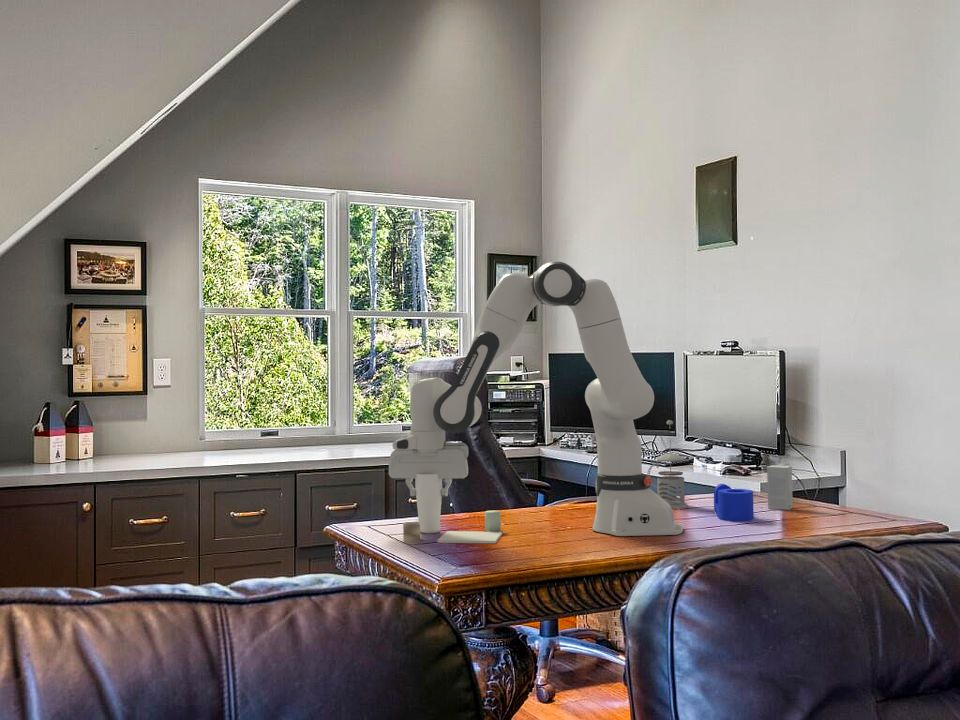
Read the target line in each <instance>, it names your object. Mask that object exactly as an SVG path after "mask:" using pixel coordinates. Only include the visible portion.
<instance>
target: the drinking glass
mask: <svg viewBox="0 0 960 720" xmlns="http://www.w3.org/2000/svg"><path fill="white" fill-rule="evenodd" d="M414 480H415V483H414V484H415V488H416V496H415V497H416V506H417V507H416V508H417V515H418V516H417V517H418V518H417V519H418V522H420V534H421V533H422V534H436V533H439V532H440V530H441V513H442V512H441V511H442V510H441V509H442V500H443V499H442V497H443V496H441V489H443V478H438V474H416V478H414Z"/></svg>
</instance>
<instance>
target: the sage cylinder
mask: <svg viewBox="0 0 960 720" xmlns="http://www.w3.org/2000/svg"><path fill="white" fill-rule="evenodd" d="M501 512H502V511H501V510H486V511H484V532H485V531H486V532H500V531H501V532H502V522H501V521H502V520H501V517H502V516H501V515H502V514H501Z"/></svg>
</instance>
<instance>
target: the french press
mask: <svg viewBox="0 0 960 720" xmlns="http://www.w3.org/2000/svg"><path fill="white" fill-rule="evenodd" d="M673 424H674V421H673V420H670V419H668V420H667V421H666V425H669V428H671V425H673ZM671 449H672V445H671V440H669V452H668V453H664V454H662V455H659V456H658V457H657V458H656V461H658V462H655V463H653V464H652V465H650V467H649V468H648V470H647V475H648V477H650V478H651V471H652V468H653V467H654V466H655V465H656V469H658V468H659V467H660V464H659V462H666V463H667V462H669V467H670V468H669V469H670V470H663V471H658V474H659V475H660V476H659V477H657V482H656V483H657V485H655V484H654V483H653V482H652V484H651V485H650V487H653V489H656V494H657V495H659V496H660V497H661V498H663V499H664V500H665V501H666V502H668V503H669V505H670V506H671V508H672V509H685V508H688V507H689V504H688V503H687V502H686V501H685V477H683V476H682V475H684V472H682V471H677V470H674V471H673V470H672V462H676V463H677V462H683V461H685V458H684V457H683V456H682V455H679V454H678V453H677V454H676V453H673V452H672V451H671Z"/></svg>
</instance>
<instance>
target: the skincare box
mask: <svg viewBox="0 0 960 720" xmlns="http://www.w3.org/2000/svg"><path fill="white" fill-rule="evenodd" d="M792 468H793V467H792V466H791V465H773V464H771V465H769V466H767V467H766V476H767V479H766V480H767V509H768V510H769V509H770V510H785V511H789V510H791V509H793V508H794V507H793V505H794V504H793V503H794V502H793V501H794V499H793V498H794V497H793V472H792V471H793V469H792Z"/></svg>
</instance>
